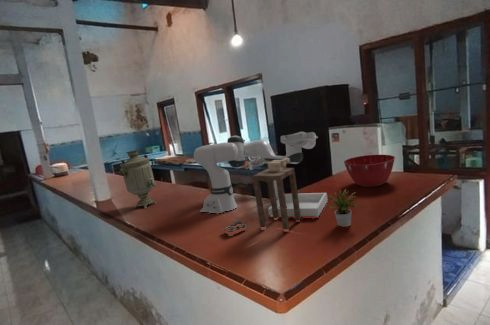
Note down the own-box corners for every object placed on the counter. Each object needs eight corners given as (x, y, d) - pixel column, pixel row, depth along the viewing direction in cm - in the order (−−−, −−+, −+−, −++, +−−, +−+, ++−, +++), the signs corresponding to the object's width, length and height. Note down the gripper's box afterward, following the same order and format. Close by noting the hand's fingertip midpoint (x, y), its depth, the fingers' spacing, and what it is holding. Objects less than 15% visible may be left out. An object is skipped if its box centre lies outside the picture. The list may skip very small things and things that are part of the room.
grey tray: (269, 217, 156) (268, 208, 155) (283, 202, 177) (282, 193, 176) (318, 218, 145) (317, 208, 144) (327, 201, 166) (326, 192, 165)
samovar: (132, 216, 197) (118, 155, 190) (119, 210, 217) (106, 155, 210) (174, 202, 215) (162, 146, 208) (158, 197, 235) (147, 146, 229)
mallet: (283, 164, 153) (281, 156, 152) (293, 164, 149) (292, 156, 148) (268, 171, 142) (267, 163, 141) (280, 171, 138) (279, 162, 137)
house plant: (337, 236, 124) (332, 197, 121) (319, 225, 137) (315, 190, 134) (367, 227, 127) (363, 189, 124) (347, 217, 140) (343, 183, 138)
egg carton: (241, 227, 151) (239, 219, 150) (249, 230, 144) (247, 222, 144) (222, 234, 145) (220, 225, 145) (229, 238, 139) (228, 229, 138)
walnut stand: (275, 218, 153) (268, 168, 149) (301, 221, 145) (294, 167, 140) (260, 230, 142) (252, 176, 138) (287, 233, 134) (279, 175, 129)
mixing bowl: (336, 186, 192) (333, 162, 189) (369, 175, 203) (367, 152, 201) (372, 194, 167) (369, 166, 164) (408, 181, 178) (406, 155, 175)
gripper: (319, 142, 176) (311, 139, 164) (286, 146, 186) (276, 143, 174) (319, 132, 176) (311, 127, 164) (286, 136, 187) (276, 132, 175)
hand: (293, 135), depth 169 cm, fingers open, 8 cm apart
